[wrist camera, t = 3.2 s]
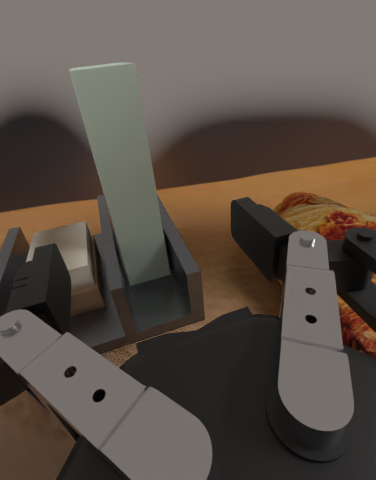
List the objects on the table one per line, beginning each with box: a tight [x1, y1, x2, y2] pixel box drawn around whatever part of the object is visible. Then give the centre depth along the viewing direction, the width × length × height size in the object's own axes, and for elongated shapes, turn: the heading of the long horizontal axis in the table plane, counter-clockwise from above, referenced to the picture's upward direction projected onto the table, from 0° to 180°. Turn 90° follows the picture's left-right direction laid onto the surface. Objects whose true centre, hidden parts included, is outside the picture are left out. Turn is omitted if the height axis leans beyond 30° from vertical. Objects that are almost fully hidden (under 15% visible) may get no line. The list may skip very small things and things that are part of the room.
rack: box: [0, 195, 205, 354], centre depth 25 cm, size 15×15×6 cm
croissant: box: [274, 191, 376, 358], centre depth 24 cm, size 21×10×8 cm, turn 175°
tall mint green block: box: [69, 62, 170, 286], centre depth 22 cm, size 4×5×16 cm
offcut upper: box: [26, 221, 95, 291], centre depth 23 cm, size 5×7×2 cm, turn 18°
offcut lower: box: [71, 235, 105, 316], centre depth 25 cm, size 5×8×2 cm, turn 18°
